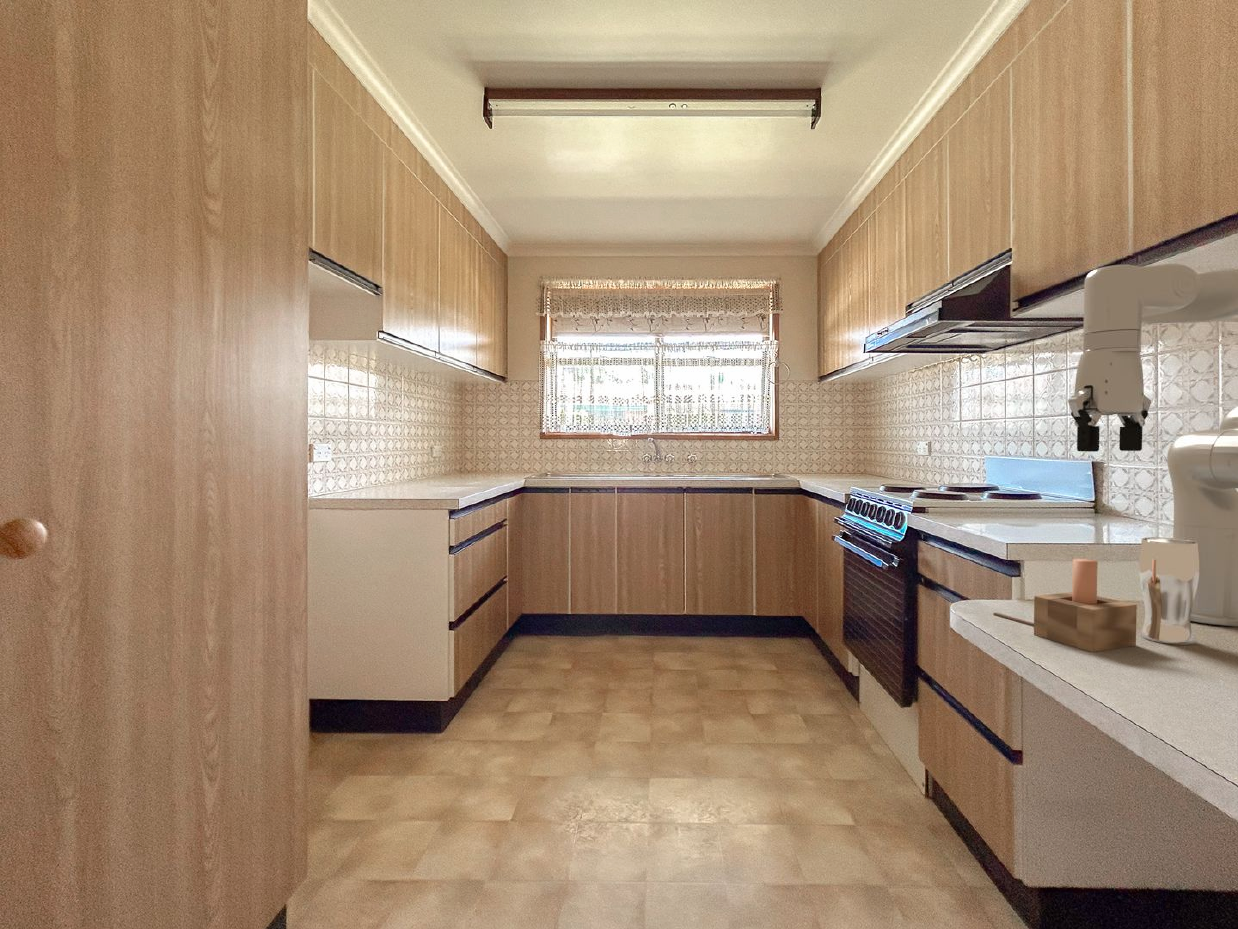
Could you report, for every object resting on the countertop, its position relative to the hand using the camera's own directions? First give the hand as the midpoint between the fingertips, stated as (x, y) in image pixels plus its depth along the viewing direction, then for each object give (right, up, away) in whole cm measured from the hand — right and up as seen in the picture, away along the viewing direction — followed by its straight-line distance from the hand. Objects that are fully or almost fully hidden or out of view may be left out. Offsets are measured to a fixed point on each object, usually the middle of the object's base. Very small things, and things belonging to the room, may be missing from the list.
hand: (1109, 451), depth 107 cm
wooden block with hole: (-10, -29, -8) cm, 31 cm away
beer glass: (+3, -29, -8) cm, 30 cm away
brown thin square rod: (-13, -28, +2) cm, 31 cm away
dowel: (-10, -29, -8) cm, 31 cm away
